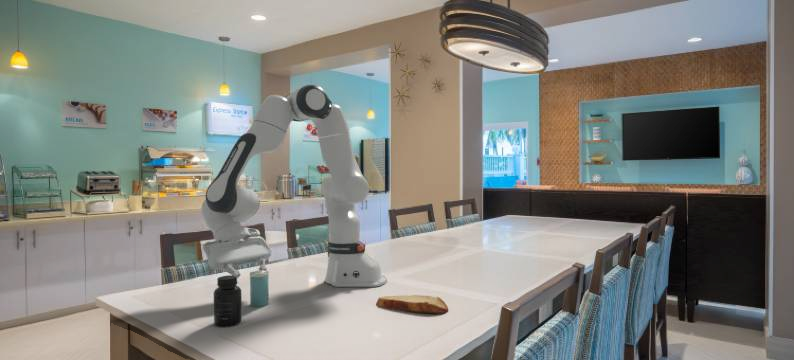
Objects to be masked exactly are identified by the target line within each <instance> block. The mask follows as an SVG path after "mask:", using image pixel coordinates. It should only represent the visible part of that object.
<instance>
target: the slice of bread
mask: <svg viewBox="0 0 794 360" xmlns="http://www.w3.org/2000/svg"><path fill="white" fill-rule="evenodd" d="M375 306H376V307H379V308H380V307H381V308H384V309H390V310H395V311H401V312H409V313H414V314H415V313H416V314H419V313H420V314H429V313H430V314H433V315H441V313H442V314H447V313H449V308H448V305H447V304H446V302H445V301H444V300H443V299H442V298H441V297H439V296H432V295H431V296H430V295H418V294H416V295H415V294H414V295H413V294H412V295H407V294H405V295H387V296H381V297H378V298H377V301H376V303H375ZM446 312H447V313H446Z"/></svg>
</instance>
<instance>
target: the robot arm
mask: <svg viewBox="0 0 794 360" xmlns="http://www.w3.org/2000/svg"><path fill="white" fill-rule="evenodd" d="M309 120H310V121H312V123H313V125H314V126H315V128H316V132H317V137H318V141H319V142H318V143H319V147H320V152H321V157H322V161H323V162H324V163H325V165H326V167H327V169H328V171H329V174H330V175H328V176H327V177H325V178H324V179H323V181H322V184H321V192H322V194H323V196H324V199H325V206H326V212H327V217H328V242H327V249H326V250H327V258H328V259H327V260H328V262H327V268H326V274H325V278H324V282H325V283H326V284H330V285H332V287H336V288H337V287H338V288H339V287H341V288H343V287H345V288H348V287H349V288H350V287H351V288H353V287H354V288H355V287H356V288H357V287H360V288H361V287H363V288H365V287H367V288H369V287H370V288H373V287H374V288H375V287H380V286H383V285H384V284H386V283H387V282H388V276H386V275H384V274H383V275H382V271H381V266H380V263H379V262H378V261H377V260H376V259H374V258H373V257H372V256H370V255H369V254H368V253H367V252H366V243H364V242H362V241H361V240H360V239H361V238H360V237H361V235H360V233H361V231H360V230H361V229H360V228H361V227H360V224H361V223H360V222H361V221H360V217H359V216H358V213H357V210H356V206H355V204H359V203H361V202H364V201H365V200H366V199H367V198H368V195H369V192H370V184H369V182H368V180H367V179H366V178H365V177H364V175H363V173H362V170H361V169H360V166H359V164H358V162H357V159H356V157H355V153H354V149H353V146H352V140H351V135H350V130H349V126H348V123H347V119H346V115H345V114H344V111H343V109H342V107H341V106H340V105H338V104H336V103H335V104H334V103H332V100H331V99H330V98H329V96H328V94H327V93H326V91H325V90H324V89H323V88H322V87H321V86H318V85H315V84H306V85H304V86H301V87H299V88H296V89H295V90H294V91H292V92H291V93H289V94H287V95H286V96H285V97H284V96H282V95H279V94H271V95H269V96H267V97H266V98H265V99H264V100H263V101H262V103H261V105H260V107H259V109H258V110H257V111H256V114H255V117H254V119H253V121H252V124H251V126H250V128H249V129H248V130H247V131H246V133H244V134H242V135H241V136H240V137H239V138H238V139H237V141H236V142H235V143H234V145H233V147H232V149H231V150H230V152H229V154H228V156H227V158H226V159H225V161H224V163H223V165H222V167H221V168H220V171H218V173H217V175H216V177H215V178H214V179H213V180H212V182H211V183H210V184H209V185H208V187H207V189H206V192H205V200H204V201H203V202H202V204H201V214H202V216H203V219H204V221H205V224H206V225H207V228H208V229H209V230H210V231H211V232H212V235H213V236H212V237H213V239H214V240H213V241H206V242H205V243H204V244H203V246H202V249H203V251H204V253H205V255H206V258H207V262H208V264H209V267H210V269H212V270H214V271H218V270H222V269H223V270H224V271H225V272H227V273H228V274H229V275H233V276H237V279H239V278H240V277H241V272H240V271H239V269H237V270H236V269H235V268H234V267H238V266H239V267H240V266H245V265H249V264H255V263H257V264H258V265H259V267H258V271H268V267H267V266H266V261H268V260H269V259H270V257H271V256H272V249H271V247H270V245H269V244H268V242H267V241H266V240H265V238H264V237H262V236H260V235H261V232H260V230H259V229H258V228H257V229H256V228H252V227H251V228H250V227H246V226H243V225H241V224H242V223H243V222H244V223H245V221H247V220H248V219H250V218H251V217H253V216H254V215H255V214H257V212H258V210H259V208H260V204H261V202H260V196H259V194H258V193H257V192H256V191H254V190H252V189H250V188H247V187H245V186H242V185H240V184H239V179H240V178H241V176H242V174H243V173H244V171H245V169H246V167H247V165H248V163H249V161H250V160H251V159H252V158H253V157H255V156H257V155H258V156H259V155H268V154H272V153H275V152H276V151H278V150H279V149H280V147H281V146H282V144H283V143H284V140H285V138H286V134H287V132H288V129H289V126H290V124H291V123H292V122H299V123H300V122H304V121H309Z"/></svg>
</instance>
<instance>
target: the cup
mask: <svg viewBox="0 0 794 360" xmlns="http://www.w3.org/2000/svg"><path fill="white" fill-rule="evenodd" d="M269 275H270V272H269V271H268V270H266V271H259V270H254V271H251V272H249V280H250V281H249V287H250V289H249V292H250V294H249V296H250V297H249V298H250V300H249V301H250V303H249V306H250V307H253V308H263V307H267V306H268V305H269V300H270V299H269V295H270V294H269V290H270V288H269V287H270V286H269Z"/></svg>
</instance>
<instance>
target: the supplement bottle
mask: <svg viewBox="0 0 794 360" xmlns="http://www.w3.org/2000/svg"><path fill="white" fill-rule="evenodd" d="M216 282H217V283H216V286H217V287H216V288H215V289H214V291H213V323H214V325H215V326H216V327H219V328H229V327H233V326H234V327H235V326H236V325H239V324H240V323H241V322H242V320H243V317H242V315H243V313H242V311H243V310H242V307H243V306H242V289H241V287H240V286H238V278H237V276H233V275H232V274H229V275H223V276H219V277H217V281H216Z"/></svg>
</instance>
